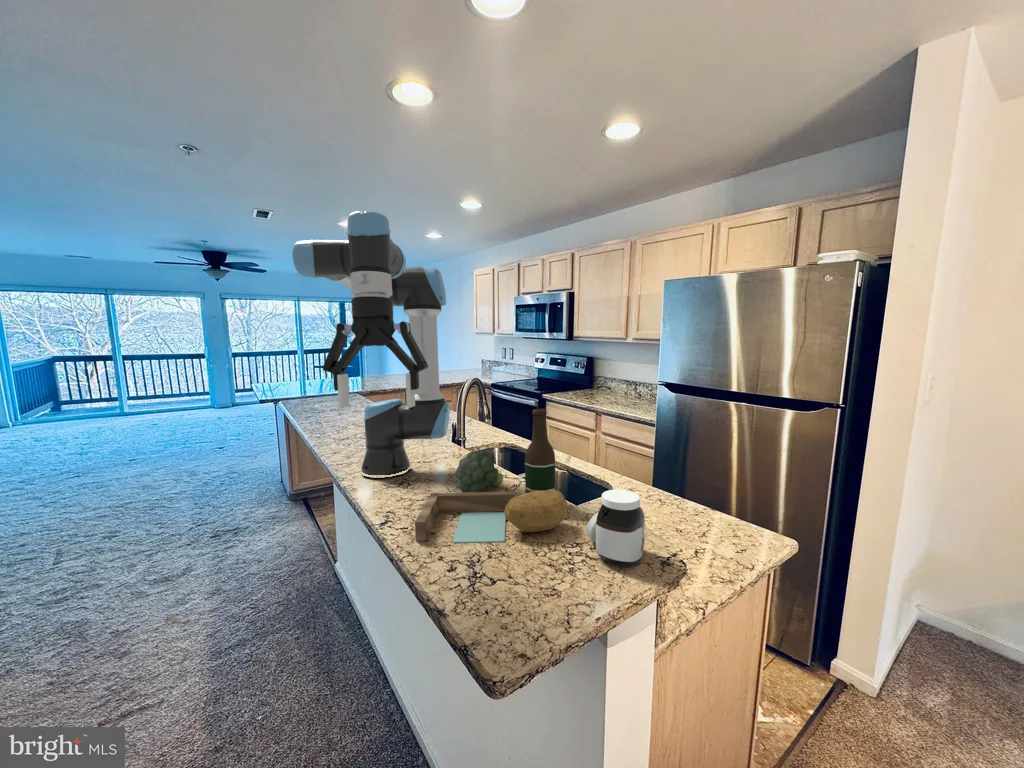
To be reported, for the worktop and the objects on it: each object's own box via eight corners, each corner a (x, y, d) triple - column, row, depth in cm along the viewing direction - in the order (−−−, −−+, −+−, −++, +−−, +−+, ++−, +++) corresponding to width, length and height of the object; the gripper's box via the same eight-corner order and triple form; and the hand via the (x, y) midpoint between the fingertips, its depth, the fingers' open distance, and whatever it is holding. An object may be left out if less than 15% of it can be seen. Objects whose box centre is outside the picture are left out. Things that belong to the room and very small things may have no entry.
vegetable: (521, 484, 109) (484, 472, 99) (490, 512, 112) (451, 503, 102) (505, 451, 117) (469, 436, 107) (476, 478, 120) (439, 466, 110)
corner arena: (431, 508, 99) (431, 493, 98) (514, 507, 99) (514, 491, 98) (415, 540, 82) (414, 521, 82) (515, 538, 82) (515, 519, 82)
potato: (498, 526, 88) (497, 491, 87) (555, 515, 93) (554, 482, 92) (514, 546, 79) (513, 507, 78) (576, 533, 84) (576, 496, 83)
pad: (461, 513, 95) (461, 512, 95) (505, 512, 95) (505, 511, 95) (452, 542, 81) (452, 542, 81) (504, 541, 81) (504, 540, 81)
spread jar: (632, 576, 68) (632, 509, 67) (571, 557, 74) (571, 496, 73) (652, 546, 78) (653, 488, 77) (597, 532, 84) (597, 478, 83)
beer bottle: (519, 506, 99) (517, 410, 97) (535, 496, 105) (533, 406, 103) (547, 513, 95) (545, 412, 93) (561, 502, 101) (560, 408, 99)
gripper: (298, 297, 74) (305, 410, 76) (429, 292, 72) (434, 409, 74) (321, 301, 82) (327, 404, 84) (440, 297, 80) (444, 403, 81)
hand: (377, 407), depth 79 cm, fingers open, 13 cm apart
